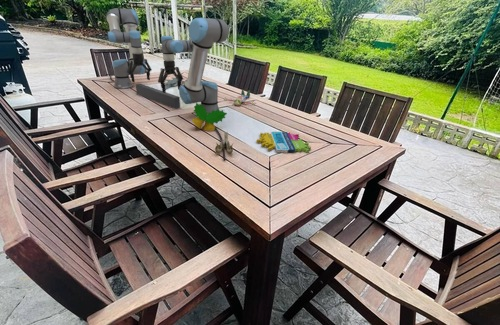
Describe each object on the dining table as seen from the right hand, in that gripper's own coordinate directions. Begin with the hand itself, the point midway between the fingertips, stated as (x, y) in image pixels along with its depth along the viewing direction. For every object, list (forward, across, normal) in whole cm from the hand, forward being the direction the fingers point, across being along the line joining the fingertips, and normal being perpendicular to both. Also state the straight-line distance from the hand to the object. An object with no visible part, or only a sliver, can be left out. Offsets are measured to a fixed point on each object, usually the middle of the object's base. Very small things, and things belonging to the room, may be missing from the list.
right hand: (172, 91), depth 192 cm
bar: (+11, 0, -21) cm, 24 cm away
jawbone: (+15, +27, +78) cm, 84 cm away
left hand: (-1, 0, -41) cm, 41 cm away
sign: (+15, -5, +94) cm, 95 cm away
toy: (+12, -51, +24) cm, 58 cm away
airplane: (+10, -41, -54) cm, 68 cm away
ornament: (+14, +10, +50) cm, 52 cm away
